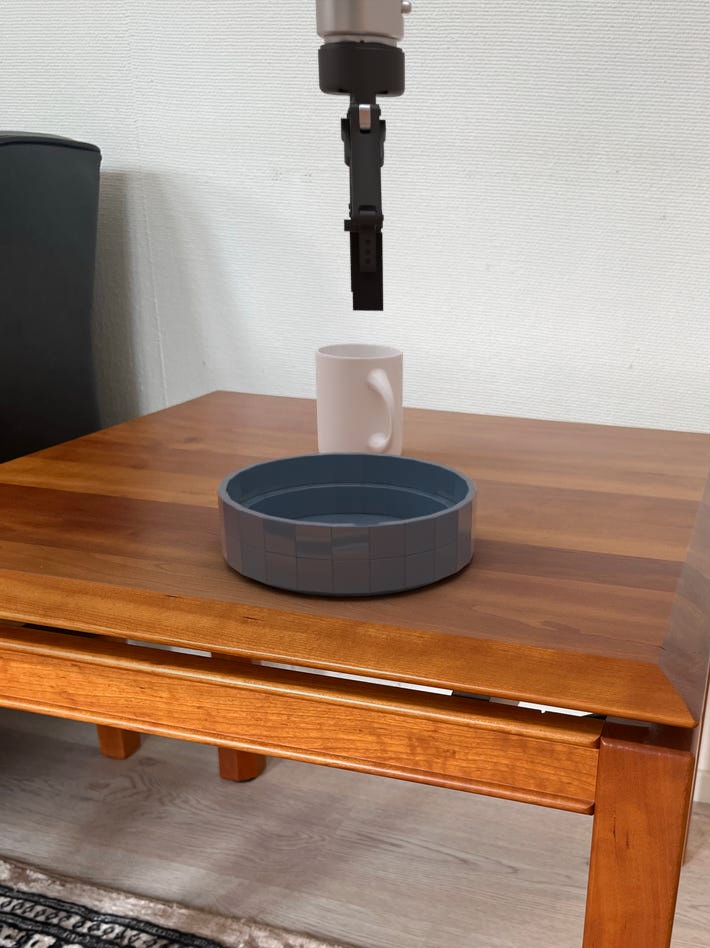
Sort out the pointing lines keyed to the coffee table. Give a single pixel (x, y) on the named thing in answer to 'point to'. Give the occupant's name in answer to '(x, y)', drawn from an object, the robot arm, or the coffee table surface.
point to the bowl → (347, 522)
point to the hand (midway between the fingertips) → (366, 300)
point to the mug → (359, 398)
